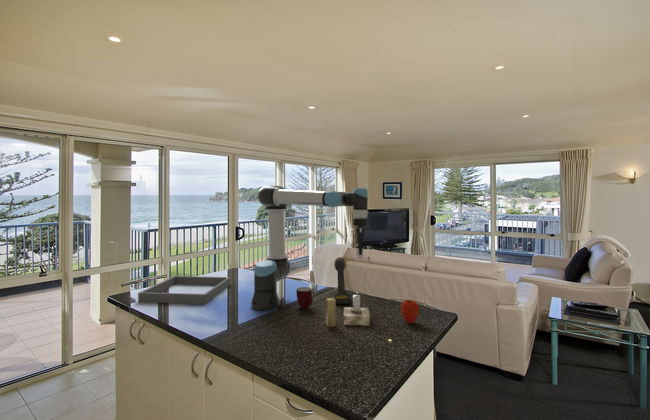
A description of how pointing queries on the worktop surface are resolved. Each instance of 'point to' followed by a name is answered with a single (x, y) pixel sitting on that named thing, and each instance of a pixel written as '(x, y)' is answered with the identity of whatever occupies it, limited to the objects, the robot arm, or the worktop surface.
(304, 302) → the mug
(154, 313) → the worktop surface
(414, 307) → the apple
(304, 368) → the worktop surface
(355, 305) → the round bit
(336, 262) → the cordless drill
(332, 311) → the square bit
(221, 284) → the frame
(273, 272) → the robot arm
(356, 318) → the bore block
